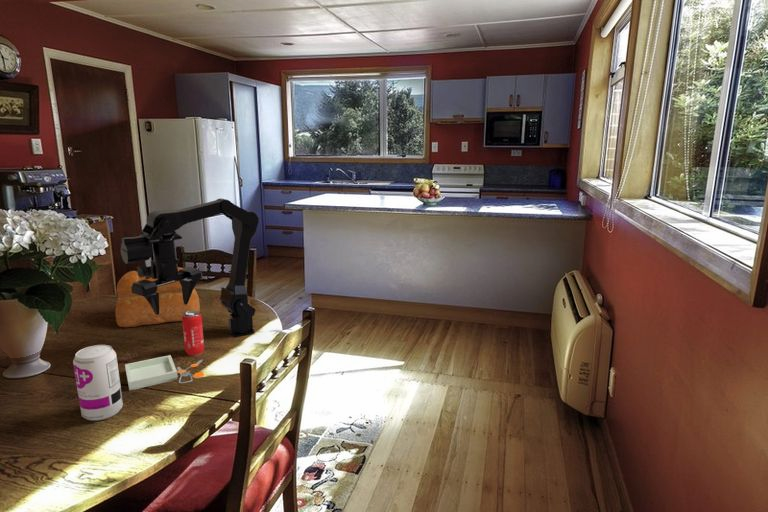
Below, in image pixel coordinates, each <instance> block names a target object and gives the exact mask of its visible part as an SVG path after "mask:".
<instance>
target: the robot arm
mask: <svg viewBox="0 0 768 512" xmlns="http://www.w3.org/2000/svg"><path fill="white" fill-rule="evenodd" d="M221 214H222V216H225V217H226V218H228V220H229V219H230V220H231V228H232V232H233V235H234V242H233V250H232V256H231V257H232V258H231V265H230V273H229V280H228V284H227V285H226V287H224V286H222V287H221V288H220V294H221V295H220V297H219V300H220V301H221V302H220V303H221V306H222V307H223V308H225V309H226V310H227V312H228V313H230V314H229V316H230V318H229V319H228V329H229V332H230V334H232V335H233V337H235V338H236V337H241V336H246V335H251V334H255V333H256V331H255V330H254V325H253V324H254V323H253V320H254V319H253V317H254V316H255V314H256V313H255V312H256V308H254V307H253V306H252V305H250V304H249V299H248V298H249V296H248V291H247V288H246V280H247V279H246V278H247V272H248V271H247V270H248V263H249V255H250V247H251V241H252V239H253V238H254V236H255V234H256V233H257V230H258V227H259V222H260V218H259V216H258V215H257V213H255V212H254V211H250V210H247V209H244V208H242V207H240V206H238V205H236V204H235V203H233V202H232V201H230V200H229V199H227V198H226V199H225V198H217V199H216V200H212V201H211V200H210V201H208V202H204V203H200V204H197V205H192V206H189V207H184V208H181V209H163V210H162V209H161V210H154V211H151V212H150V213H149V214H148V215H147V217H146V222H145V225H144V226H143V228H142V230H141V231H140V233H139V236H132V237H127V236H126V237H122V238H121V245H120V255H121V258H122V261H123V262H124V263H125V264H126V265H128V264H133V263H138V262H145V261H149V260H150V258H152V257H153V259H152V260H151V261H150V263H151V264H150V266H147V265H146V264H142V265H138V266H136V271H137V273H138V276H139V277H144V276H145V278H146V279H149V278H150V277H151V278H152V279H157V280H156V281H148V280H142V281H138V282H135V283H133V284H132V286H131V290H132V293H134V294H138V295H140V296H144V297H145V298H146V300H147V301H148V302H149V304H150V306H151V307H152V309H153V311H154V312H155V314H156V315H159V293H156V291H157V290H158V289H157V287H160V286H163V285H167V284H170V283H173V282H176V281H179V282H180V284H181V286H182V295H183V301H184V304H186V305H187V304H188V301H189V299H190V296H191V294H192V291H193V289H194V288H195V287H196V285H197V284H198V283H199V282H200V281H199V280H200V279H203V273H202V271H201V269H199V268H196V267H193V266H192V267H191V266H188V267H184V269H180V270H179V271H178V267H179V266H178V264H180V263H181V260H180V259H178V258H177V251H176V243H175V241H177V240H182V239H183V236H181V235H180V234H178V233H177V230H180V228H182V227H183V226H185V225H188V224H190V223H193V222H196V221H200V220H204V219H207V218H210V217H211V218H212V217H215V216H218V215H221Z"/></svg>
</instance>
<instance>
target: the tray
mask: <svg viewBox="0 0 768 512" xmlns="http://www.w3.org/2000/svg"><path fill="white" fill-rule="evenodd" d="M124 367H125V374H126V379H127V384H128V390H129V391H133V390H138V389H142V388H145V387H151V386H156V385H159V384H163V383H169V382H173V381H176V380H179V378H178V377H179V376H178V373H177V372H178V370H177V367H176V365H175V363H174V360H173V358H172V356H171V354H169V355H164V356H159V357H154V358H149V359H144V360H140V361H135V362H129V363H124Z"/></svg>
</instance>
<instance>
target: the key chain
mask: <svg viewBox="0 0 768 512" xmlns="http://www.w3.org/2000/svg"><path fill="white" fill-rule="evenodd" d="M203 361H204V359H200V360H198V361H197V362H196V363H192V364H190V366H189V367H187V368H186V369H182V368H181V366H177V367H176V370H177V374H179V375H180V377H179V378H178V384H188V383H191V382H193V378H194V379H198V378H199V379H200V378H202V377H204V376H205V373H204V372H195V373H194V374H193V373H190V372H191V371H190V370H188V369H190V368H195V367H198V366H199V365H200V363H202V362H203ZM182 377H183V378H186V377H189V378H190V380H188V381H182Z"/></svg>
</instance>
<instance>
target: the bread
mask: <svg viewBox="0 0 768 512" xmlns="http://www.w3.org/2000/svg"><path fill="white" fill-rule="evenodd" d="M184 268H185V267H184ZM184 268H183V267H179V266H178V271H179V270H180V269H184ZM142 280H148V281H156V280H157V279H152V278H151V277H150V278H149V279H146V278H145V276H144V277H139V276H138V273H137V270H130V271H128V272H126V273H125V274H123V276H121V278H120V279H119V281H118V282H117V286H116V293H117V295H118V297H117V300H116V304H115V320H116V321H115V322H116V324H117V326H118V327H120V328H135V327H141V326H147V325H149V326H150V325H160V324H163V323H170V322H171V323H172V322H174V323H175V322H182V316H183V314H184V313H185V312H188V311H199V312H200V313H201V306H200V305H201V304H200V298H199V295H198V294H199V293H198V292H197V290H196V289H195V287H194V289H193V291H192V294H191V296H190V299H189V301H188V304H187V305H186V304H184V301H183V295H182V286H181V284H180V282H179V281H176V282H173V283H170V284H167V285H163V286H160V287H157V289H158V290H157V291H156V293H159V315H156V314H155V312H154V311H153V309H152V307H151V306H150V304H149V302H148V301H147V300H146V298H145V297H144V296H140V295H138V294H134V293H132V290H131V286H132V284H133V283H135V282H138V281H142Z"/></svg>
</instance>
